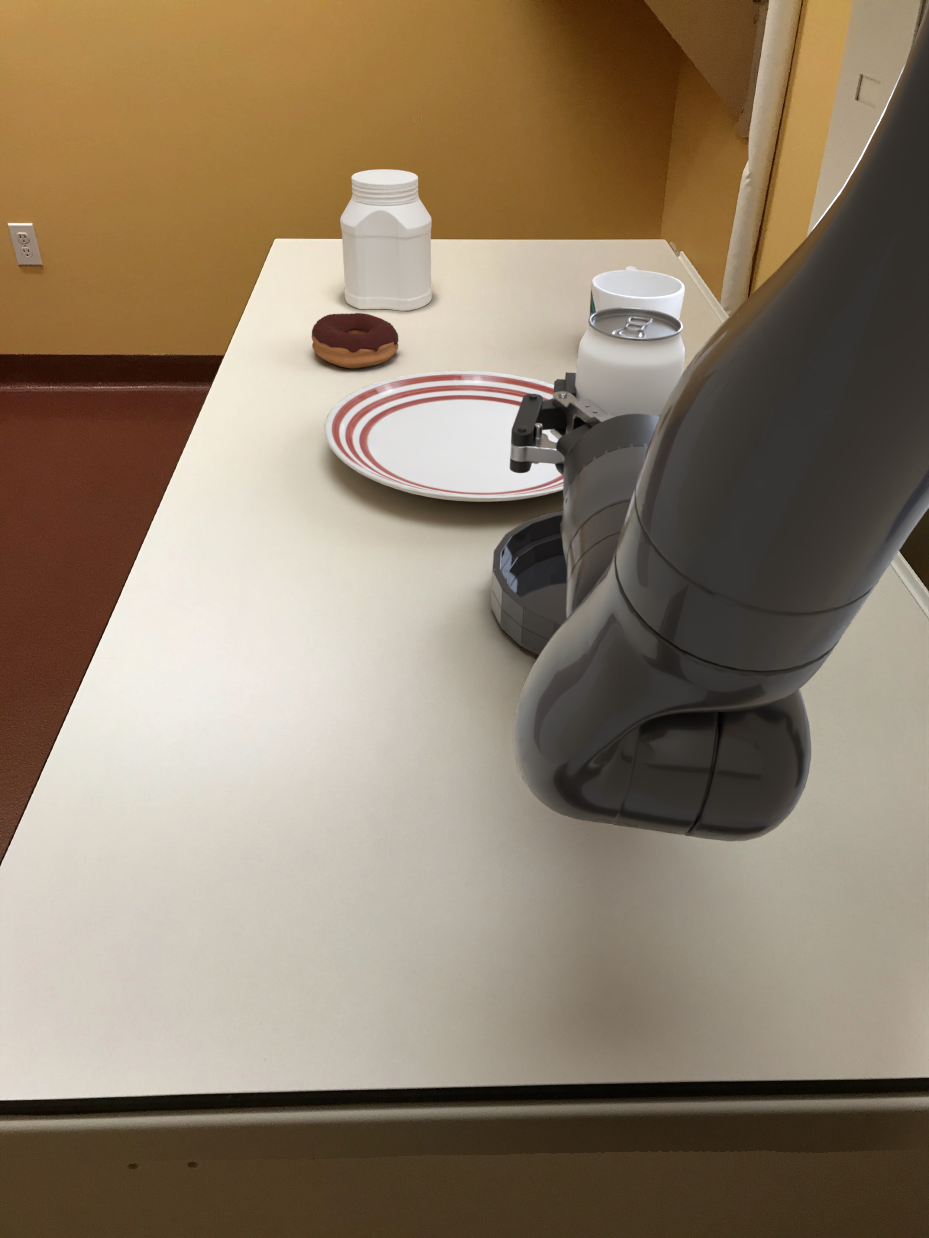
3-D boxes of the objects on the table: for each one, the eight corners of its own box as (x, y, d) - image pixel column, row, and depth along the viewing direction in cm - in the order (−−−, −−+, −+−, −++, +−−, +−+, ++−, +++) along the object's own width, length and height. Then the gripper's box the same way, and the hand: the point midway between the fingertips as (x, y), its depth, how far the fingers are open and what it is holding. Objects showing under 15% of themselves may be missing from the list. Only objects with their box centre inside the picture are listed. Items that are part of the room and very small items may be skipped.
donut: (406, 368, 108) (405, 334, 105) (318, 375, 106) (315, 340, 103) (390, 337, 116) (389, 304, 113) (308, 343, 114) (305, 309, 111)
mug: (681, 371, 108) (692, 299, 104) (588, 369, 108) (595, 297, 104) (664, 329, 119) (673, 263, 114) (579, 327, 119) (585, 261, 115)
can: (552, 511, 63) (568, 331, 56) (579, 469, 68) (596, 299, 61) (649, 531, 61) (678, 347, 54) (670, 487, 66) (699, 313, 59)
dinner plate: (530, 380, 106) (532, 350, 104) (676, 490, 86) (682, 457, 84) (289, 422, 96) (286, 391, 94) (392, 558, 76) (391, 522, 74)
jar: (339, 308, 123) (331, 183, 115) (351, 285, 131) (344, 166, 122) (428, 312, 123) (427, 187, 114) (434, 288, 131) (434, 169, 122)
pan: (615, 530, 80) (620, 490, 78) (758, 630, 69) (769, 587, 67) (450, 587, 73) (450, 544, 71) (581, 708, 62) (586, 662, 60)
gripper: (796, 458, 46) (746, 338, 60) (498, 440, 47) (516, 326, 61) (764, 587, 51) (724, 448, 64) (493, 568, 52) (510, 436, 65)
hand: (623, 389), depth 62 cm, fingers closed on can, 6 cm apart
